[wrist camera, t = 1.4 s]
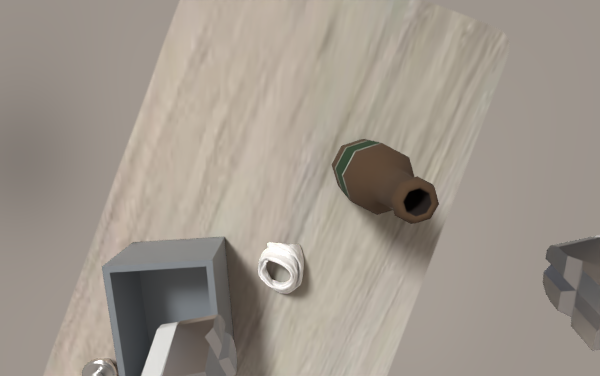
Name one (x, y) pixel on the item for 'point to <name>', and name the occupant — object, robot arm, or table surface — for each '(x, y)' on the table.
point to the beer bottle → (383, 181)
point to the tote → (163, 292)
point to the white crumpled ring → (287, 258)
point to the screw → (99, 368)
